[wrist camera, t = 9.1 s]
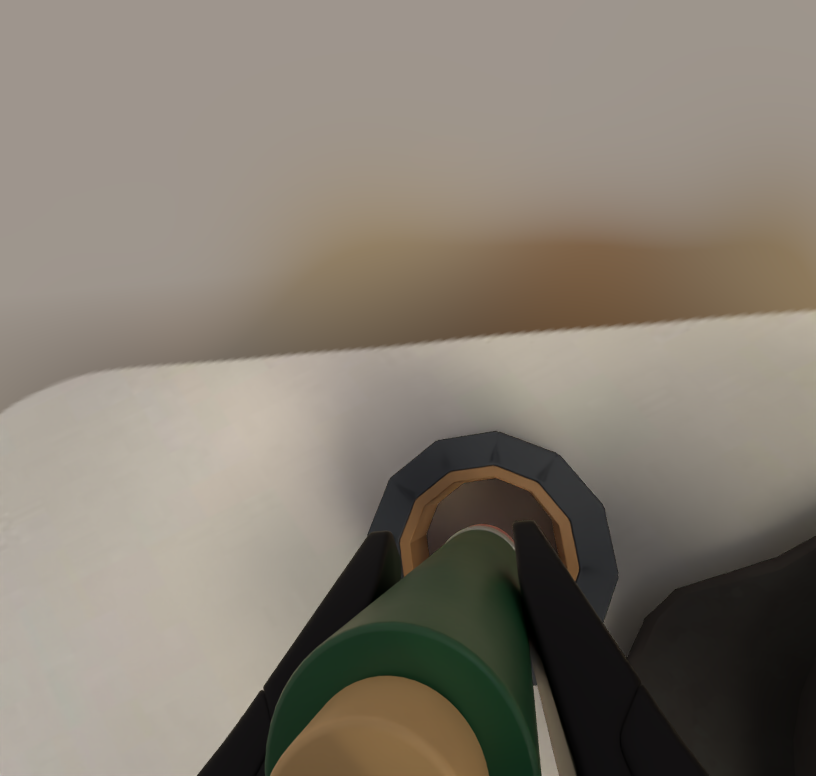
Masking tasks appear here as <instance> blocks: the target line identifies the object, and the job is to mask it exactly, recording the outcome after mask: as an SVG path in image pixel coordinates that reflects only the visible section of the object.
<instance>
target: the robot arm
mask: <svg viewBox="0 0 816 776" xmlns="http://www.w3.org/2000/svg"><path fill="white" fill-rule="evenodd" d="M512 526H513V535H514V544H515V554H516V563H517V572H518V579H519V586H520V594H521V601H522V607H523V611H524V615H525V619H526V623H527V628H528V636H529V647H530V656H531V661H532V665H533V669H534V673H535V677H536V681H537V686H538V690H539V694H540V698H541V702H542V707H543V711H544V715H545V719H546V723H547V727H548V732H549V736H550V740H551V744H552V748H553V753H554V757H555V761H556V765H557V769H558V773H559V776H710V775H709V774H708V772H707V771H706V770H705V769H704V767H703V766H702V765H701V763H700V762H699V761H698V760H697V758H696V757H695V756H694V754H693V753H692V752H691V751H690V749H689V748H688V747H687V745H686V744H685V743H684V742H683V740H682V739H681V737H680V736H679V735H678V733H677V732H676V730H675V729H674V727H673V726H672V725H671V723H670V722H669V720H668V719H667V717H666V716H665V715H664V713H663V712H662V710H661V709H660V708H659V706H658V705H657V703H656V702H655V700H654V699H653V697H652V696H651V694H650V693H649V691H648V690H647V688H646V687H645V685H643V684H641V680H640V678H639V676H638V675H637V673H636V672H635V670H634V669H633V667H632V666H631V664H630V663H629V661H628V660H627V658H626V657H625V655H624V654H623V652H622V651H621V649H620V648H619V646H618V645H617V643H616V642H615V640H614V639H613V637H612V636H611V634H610V633H609V631H608V630H607V628H606V627H605V625H604V624H603V622H602V621H601V619H600V618H599V616H598V615H597V613H596V612H595V610H594V609H593V607H592V606H591V604H590V603H589V601H588V600H587V598H586V597H585V595H584V594H583V592H582V591H581V589H580V588H579V586H578V585H577V583H576V582H575V580H574V579H573V577H572V576H571V574H570V573H569V571H568V570H567V568H566V567H565V565H564V564H563V562H562V561H561V559H560V558H559V556H558V555H557V553H556V552H555V550H554V549H553V547H552V546H551V544H550V543H549V541H548V540H547V538H546V537H545V535H544V534H543V532H542V531H541V529H540V528H539V526H538V525H537V523H536V522H535V521H533V520H523V521H515V522H513V525H512ZM400 580H401V560H400V556H399V553H398V550H397V546H396V543H395V540H394V537H393V535H392V533H391V532H390V531H375V532H371V533H370V534H369V535H368V536H367V538H366V539H365V540H364V542H363V543H362V545H361V546H360V548H359V549H358V551H357V552H356V553H355V555H354V556H353V558H352V559H351V561H350V562H349V564H348V565H347V566H346V568H345V569H344V571H343V572H342V574H341V575H340V577H339V578H338V579H337V581H336V582H335V584H334V585H333V587H332V588H331V590H330V591H329V592H328V594H327V595H326V597H325V598H324V600H323V601H322V603H321V604H320V605H319V607H318V608H317V610H316V611H315V613H314V614H313V616H312V617H311V618H310V620H309V621H308V623H307V624H306V626H305V627H304V629H303V630H302V631H301V633H300V634H299V636H298V637H297V639H296V640H295V642H294V643H293V644H292V646H291V647H290V649H289V650H288V652H287V653H286V655H285V656H284V657H283V659H282V660H281V662H280V663H279V665H278V666H277V668H276V669H275V670H274V672H273V673H272V675H271V676H270V678H269V679H268V681H267V682H266V683H265V685H264V687H263V689H264V691H263V690H261V691H260V692H259V693H258V695H257V696H256V698H255V699H254V701H253V702H252V703H251V705H250V706H249V708H248V709H247V711H246V712H245V713H244V715H243V716H242V717H241V719H240V720H239V722H238V723H237V724H236V726H235V727H234V729H233V730H232V731H231V733H230V734H229V735H228V737H227V738H226V740H225V741H224V742H223V743H222V745H221V746H220V747H219V748H218V750H217V751H216V752H215V753H214V755H213V756H212V757H211V759H210V760H209V761H208V762H207V764H206V765H205V766H204V767H203V769H202V770H201V771H200V772H199V774H198V775H197V776H265V756H266V744H267V739H268V734H269V729H270V723H271V720H272V717H273V714H274V711H275V707H276V705H277V702H278V700H279V698H280V696H281V693H282V691H283V689H284V687H285V686H286V684H287V682H288V681H289V679H290V677H291V676H292V674H293V673H294V671H295V670H296V669H297V668H298V666H299V665H300V664H301V663H302V661H303V660H304V659H305V658H306V657H307V656H308V655H309V654H310V653H311V652H312V651H314V650H315V649H316V648H317V647H318V646H319V645H320V644H322V643H323V642H324V641H325V640H327V639H328V638H329V637H330V636H332V635H333V634H334V633H335V632H337V631H338V630H339V629H340V628H342V627H343V626H344V625H345V624H346V623H348V622H349V621H350V620H351V619H353V618H354V617H355V616H356V615H358V614H359V613H360V612H361V611H363V610H364V609H365V608H366V607H368V606H369V605H370V604H371V603H372V602H374V601H375V600H376V599H377V598H379V597H380V596H381V595H382V594H384V593H385V592H386V591H387V590H389V589H390V588H391V587H392V586H394V585H395V584H396V583H397V582H399V581H400Z"/></svg>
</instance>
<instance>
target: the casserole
mask: <svg viewBox="0 0 816 776" xmlns="http://www.w3.org/2000/svg"><path fill="white" fill-rule="evenodd" d="M627 660H628V661H629V663H630V664H631V666H632V667H633V669H634V670H635V672H636V673H637V675H638V676H639V678H640V680H641V684H643V685H645V687H646V688H647V690H648V691H649V693H650V694H651V696H652V697H653V699H654V700H655V702H656V703H657V705H658V706H659V708H660V709H661V710H662V712H663V713H664V715H665V716H666V717H667V719H668V720H669V722H670V723H671V725H672V726H673V727H674V729H675V730H676V732H677V733H678V735H679V736H680V737H681V739H682V740H683V742H684V743H685V744H686V745H687V747H688V748H689V749H690V751H691V752H692V753H693V754H694V756H695V757H696V758H697V760H698V761H699V762H700V763H701V765H702V766H703V767H704V769H705V770H706V771H707V772H708V774H709V775H710V776H816V536H814V537H813V538H811V539H809V540H807V541H805V542H804V543H802V544H800V545H798V546H796V547H794V548H793V549H791V550H789V551H787V552H785V553H784V554H782V555H780V556H778V557H776V558H773V559H770V560H766V561H763V562H760V563H757V564H754V565H751V566H747V567H744V568H741V569H738V570H735V571H732V572H729V573H725V574H722V575H719V576H716V577H713V578H710V579H706V580H703V581H700V582H697V583H694V584H691V585H688V586H684V587H681V588H678V589H675V590H674V591H673V592H672V593H671V594H670V595H669V596H668V597H667V598H666V599H665V600H664V601H663V602H662V603H661V604H659V605H658V606H657V607H656V608H655V609H654V610H653V611H652V612H651V613H650V614H649V615H648V616H647V617H646V618H645V619H644V622H643V624H642V626H641V628H640V631H639V633H638V635H637V637H636V639H635V642H634V644H633V646H632V648H631V651H630V653H629V655H628V657H627Z"/></svg>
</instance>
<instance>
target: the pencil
mask: <svg viewBox="0 0 816 776" xmlns="http://www.w3.org/2000/svg"><path fill="white" fill-rule="evenodd" d="M265 776H541V765H540V754H539V743H538V733H537V722H536V711H535V700H534V690H533V679H532V668H531V658H530V647H529V636H528V628H527V623H526V619H525V615H524V611H523V607H522V601H521V594H520V586H519V579H518V572H517V563H516V554H515V544H514V541H513V539H512V538H511V537H510V536H509V535H508V534H507V533H506V532H504V531H503V530H501V529H500V528H497V527H495V526H492V525H487V524H477V525H472V526H469V527H467V528H464V529H462V530H460V531H458V532H457V533H455V534H454V535H453V536H451V537H450V538H449V539H448V540H447V541H446V543H445V544H444V545H443V546H442V547H441V548H439V549H438V550H437V551H436V552H434V553H433V554H432V555H431V556H429V557H428V558H427V559H426V560H425V561H423V562H422V563H421V564H420V565H418V566H417V567H416V568H415V569H413V570H412V571H411V572H410V573H408V574H407V575H406V576H405V577H403V578H402V579H401V580H400V581H399V582H397V583H396V584H395V585H394V586H392V587H391V588H390V589H389V590H387V591H386V592H385V593H384V594H382V595H381V596H380V597H379V598H377V599H376V600H375V601H374V602H372V603H371V604H370V605H369V606H368V607H366V608H365V609H364V610H363V611H361V612H360V613H359V614H358V615H356V616H355V617H354V618H353V619H351V620H350V621H349V622H348V623H346V624H345V625H344V626H343V627H342V628H340V629H339V630H338V631H337V632H335V633H334V634H333V635H332V636H330V637H329V638H328V639H327V640H325V641H324V642H323V643H322V644H320V645H319V646H318V647H317V648H316V649H315V650H314V651H312V652H311V653H310V654H309V655H308V656H307V657H306V658H305V659H304V660H303V661H302V663H301V664H300V665H299V666H298V668H297V669H296V670H295V671H294V673H293V674H292V676H291V677H290V679H289V681H288V682H287V684H286V686H285V687H284V689H283V691H282V693H281V696H280V698H279V700H278V702H277V705H276V707H275V711H274V714H273V717H272V720H271V723H270V729H269V734H268V739H267V744H266V756H265Z"/></svg>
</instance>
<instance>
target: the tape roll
mask: <svg viewBox="0 0 816 776" xmlns="http://www.w3.org/2000/svg"><path fill="white" fill-rule="evenodd" d="M495 478H497V479H499V480H502V481H504V482H507V483H509V484H512V485H514V486H517V487H519V488H522V489H524V490H527V491H529V492H530V494H531V495H532V496H533V497H534V498H535V500H536V501H537V502H538V503H539V505H540V506H541V507H542V508H543V509H544V511H545V512H546V513H547V514H548V515H549V517H550V518H551V520H552V525H553V531H554V536H555V541H556V546H557V552H558V556H559V558H560V559H561V561H562V562H563V564H564V565H565V567H566V568H567V570H568V571H569V573H570V574H571V576H572V577H573V579H574V580H575V582H576V583H577V585H578V586H579V588H580V589H581V591H582V592H583V594H584V595H585V597H586V598H587V600H588V601H589V603H590V604H591V606H592V607H593V609H594V610H595V612H596V613H597V615H598V616H599V618H600V619H601V621H602V622H604V619H605V616H606V613H607V610H608V607H609V604H610V601H611V598H612V595H613V592H614V589H615V586H616V583H617V580H618V569H617V564H616V559H615V555H614V550H613V545H612V541H611V536H610V531H609V527H608V522H607V517H606V513H605V508H604V507H603V504H602V503H601V502H600V501H599V500H598V498H597V497H596V496H595V495H594V494H593V493H592V491H591V490H590V489H589V488H588V487H587V486H586V485H585V483H584V482H583V481H582V480H581V479H580V478H579V477H578V475H577V474H576V473H575V472H574V471H573V470H572V468H571V467H570V466H569V465H568V464H567V463H566V462H565V460H564V459H563V458H562V457H561V456H560V455H559V454H557V453H555V452H553V451H550V450H547V449H545V448H542V447H539V446H537V445H534V444H531V443H529V442H526V441H523V440H521V439H518V438H515V437H513V436H510V435H507V434H505V433H502V432H497V431H493V432H487V433H480V434H474V435H468V436H461V437H455V438H449V439H442V440H438V441H435V442H434V443H433V444H432V445H430V446H429V447H428V448H427V449H425V450H424V451H423V452H422V453H420V454H419V455H418V456H417V457H415V458H414V459H413V460H412V461H411V462H409V463H408V464H407V465H406V466H404V467H403V468H402V469H401V470H399V471H398V472H397V473H396V474H395V475H393V476H392V477H391V478H390V480H389V481H388V484H387V486H386V489H385V491H384V494H383V497H382V499H381V502H380V504H379V507H378V509H377V512H376V514H375V517H374V519H373V522H372V524H371V527H370V529H369V532H368V534H367V536H368V535H369V534H370V533H371V532H375V531H390V532H391V533H392V535H393V537H394V540H395V543H396V546H397V550H398V553H399V556H400V560H401V579H402V578H403V577H405V576H406V575H407V574H408V573H410V572H411V571H412V570H413V569H415V568H416V567H417V566H418V565H420V564H421V563H422V562H423V561H425V560H426V559H427V558H428V557H429V550H428V543H427V535H426V534H427V532H428V529H429V526H430V524H431V521H432V518H433V516H434V513H435V511H436V508H437V505H438V503H439V502H441V501H442V500H443V499H444V498H446V497H447V496H448V495H449V494H451V493H452V492H453V491H454V490H456V489H457V488H458V487H459V486H460V485H462V484H463V483H467V482H474V481H481V480H488V479H495ZM530 658H531V656H530ZM531 668H532V679H533V686H534V685H537V681H536V677H535V673H534V669H533V665H532V661H531Z"/></svg>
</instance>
